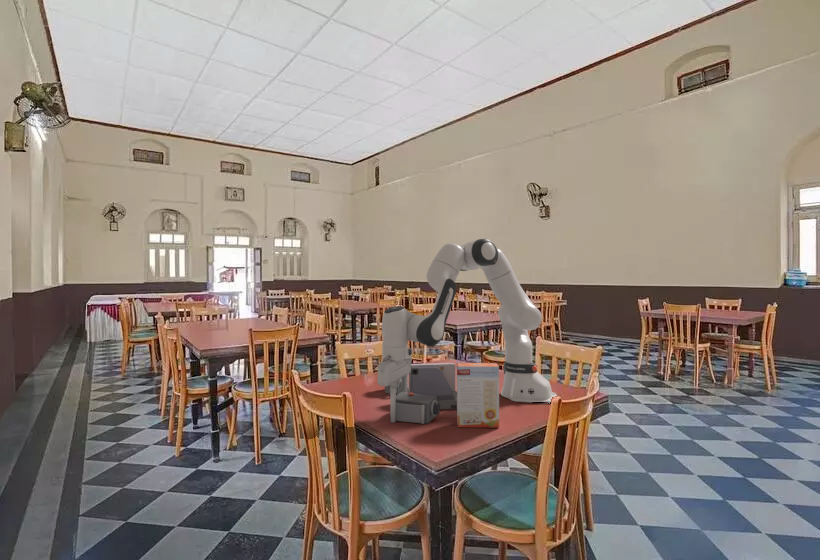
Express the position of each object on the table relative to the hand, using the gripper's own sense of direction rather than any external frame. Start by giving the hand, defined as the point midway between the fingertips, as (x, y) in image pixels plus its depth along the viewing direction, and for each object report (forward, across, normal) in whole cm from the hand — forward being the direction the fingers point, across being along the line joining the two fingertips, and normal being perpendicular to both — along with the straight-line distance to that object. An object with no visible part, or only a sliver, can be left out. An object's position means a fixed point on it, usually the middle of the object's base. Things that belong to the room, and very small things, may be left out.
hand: (395, 392), depth 153 cm
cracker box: (+10, +7, -28) cm, 30 cm away
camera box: (+10, +6, -5) cm, 12 cm away
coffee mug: (+10, +31, +14) cm, 35 cm away
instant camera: (+11, +24, -5) cm, 27 cm away
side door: (+10, -1, -5) cm, 11 cm away
